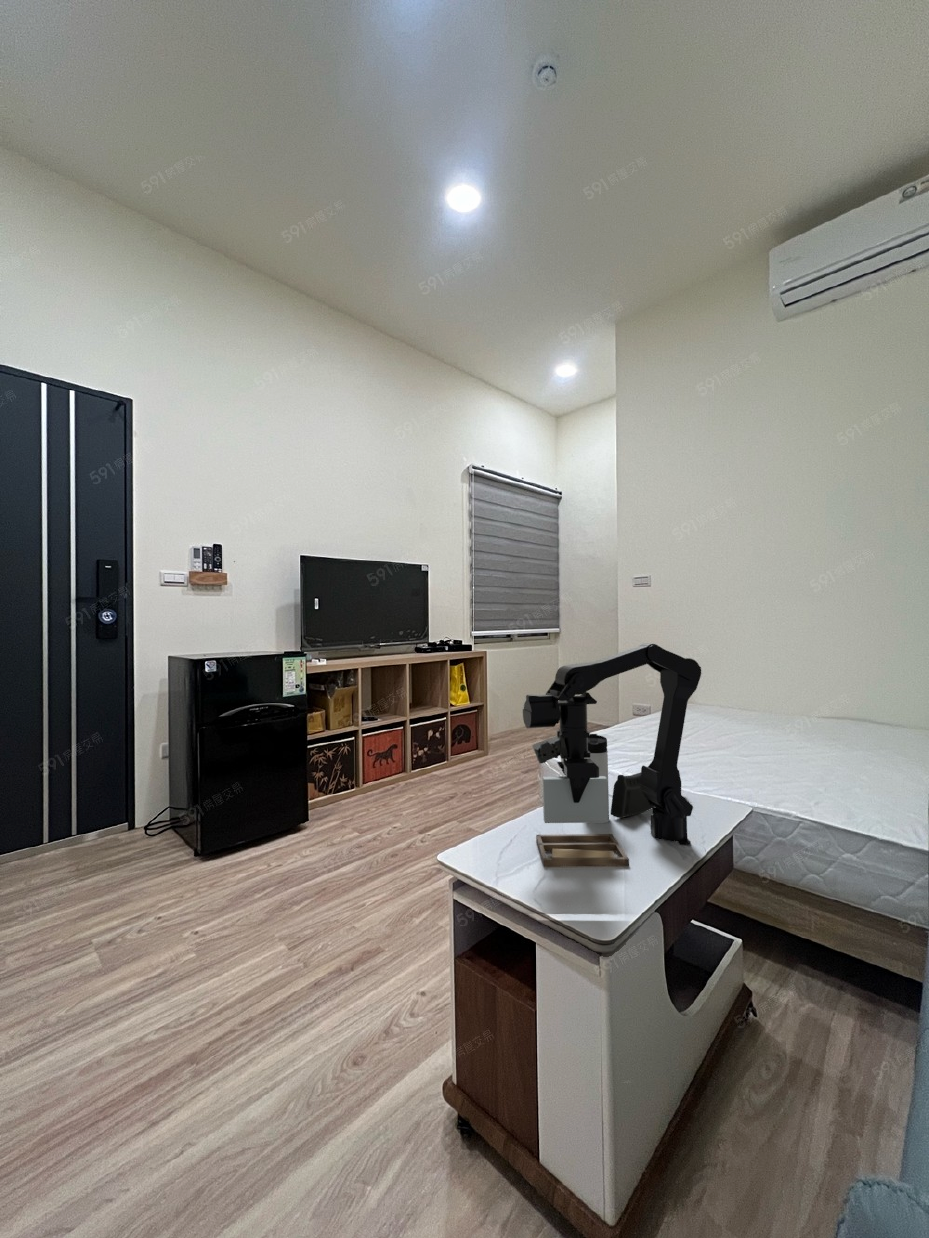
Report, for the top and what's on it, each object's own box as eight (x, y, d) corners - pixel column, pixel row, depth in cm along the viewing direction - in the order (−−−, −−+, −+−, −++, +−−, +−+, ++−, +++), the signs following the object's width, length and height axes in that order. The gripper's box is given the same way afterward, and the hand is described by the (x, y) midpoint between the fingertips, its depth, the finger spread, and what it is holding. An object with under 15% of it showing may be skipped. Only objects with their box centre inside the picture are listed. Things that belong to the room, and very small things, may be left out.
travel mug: (608, 815, 125) (606, 733, 125) (609, 826, 118) (607, 739, 119) (582, 814, 126) (580, 733, 127) (582, 824, 120) (580, 738, 120)
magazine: (615, 787, 118) (673, 731, 138) (603, 784, 121) (661, 730, 140) (629, 852, 121) (683, 788, 141) (616, 848, 124) (671, 786, 143)
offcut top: (613, 855, 102) (613, 851, 102) (615, 864, 98) (615, 860, 98) (552, 852, 104) (552, 848, 104) (552, 861, 100) (552, 856, 100)
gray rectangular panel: (605, 818, 107) (604, 775, 108) (607, 822, 105) (606, 778, 106) (543, 819, 108) (542, 776, 108) (544, 823, 106) (543, 779, 106)
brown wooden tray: (612, 843, 109) (612, 833, 109) (629, 869, 97) (629, 859, 97) (536, 844, 109) (536, 834, 109) (543, 870, 97) (543, 859, 97)
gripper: (530, 718, 117) (531, 787, 116) (540, 735, 98) (542, 817, 97) (579, 718, 116) (580, 786, 116) (598, 734, 98) (600, 816, 97)
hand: (575, 800), depth 107 cm, fingers closed on gray rectangular panel, 2 cm apart
